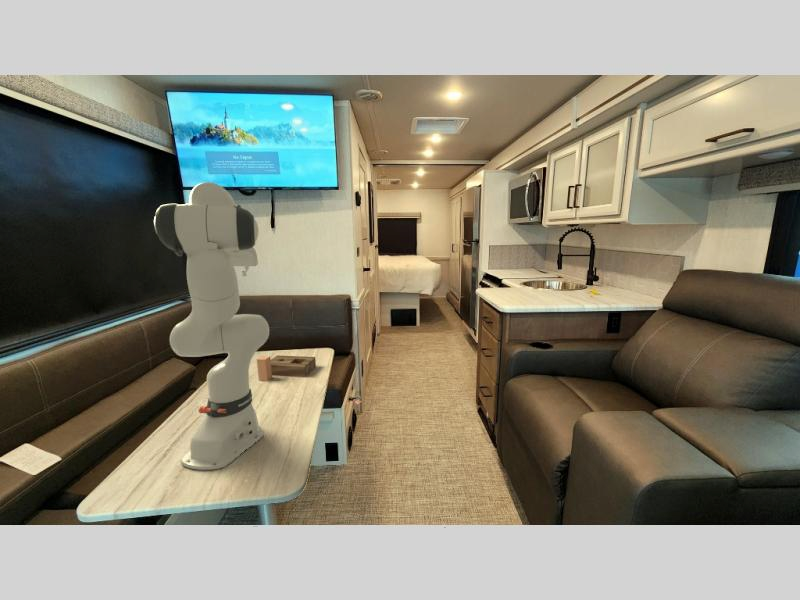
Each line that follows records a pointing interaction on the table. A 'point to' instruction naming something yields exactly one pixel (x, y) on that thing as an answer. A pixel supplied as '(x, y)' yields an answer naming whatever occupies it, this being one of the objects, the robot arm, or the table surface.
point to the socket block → (292, 365)
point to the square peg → (264, 368)
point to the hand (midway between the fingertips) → (231, 275)
